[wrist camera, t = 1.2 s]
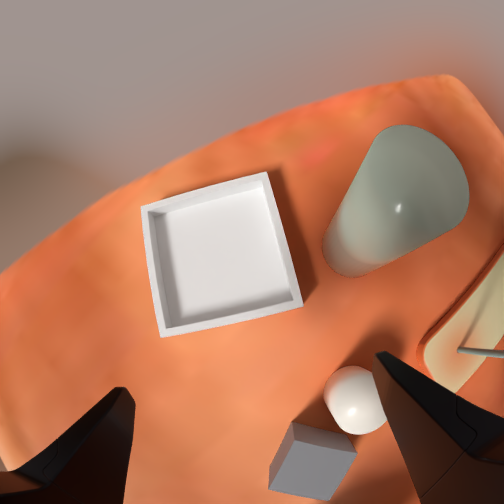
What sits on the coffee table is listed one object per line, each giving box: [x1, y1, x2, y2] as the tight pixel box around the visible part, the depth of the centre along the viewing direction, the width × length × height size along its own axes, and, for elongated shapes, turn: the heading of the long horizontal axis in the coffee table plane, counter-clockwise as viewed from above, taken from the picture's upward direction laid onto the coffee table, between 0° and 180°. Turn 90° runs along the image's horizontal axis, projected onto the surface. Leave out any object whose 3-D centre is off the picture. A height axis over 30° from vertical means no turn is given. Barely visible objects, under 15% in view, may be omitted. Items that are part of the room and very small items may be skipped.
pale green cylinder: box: [322, 125, 469, 278], centre depth 16 cm, size 5×5×13 cm
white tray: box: [141, 172, 304, 338], centre depth 22 cm, size 11×11×2 cm
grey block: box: [268, 422, 358, 501], centre depth 17 cm, size 5×5×4 cm
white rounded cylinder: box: [323, 366, 387, 434], centre depth 18 cm, size 4×4×4 cm
